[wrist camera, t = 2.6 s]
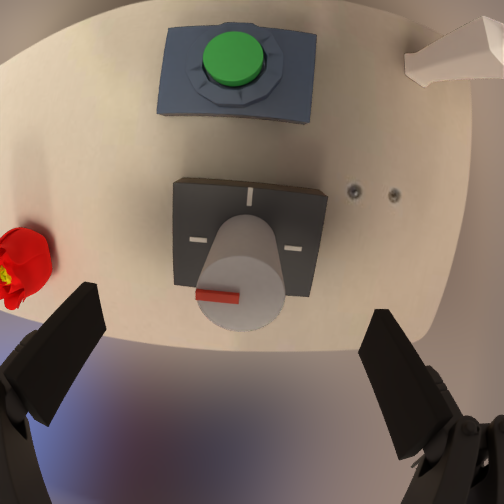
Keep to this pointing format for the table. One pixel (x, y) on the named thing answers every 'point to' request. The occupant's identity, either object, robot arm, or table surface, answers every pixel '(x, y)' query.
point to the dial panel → (247, 203)
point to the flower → (22, 265)
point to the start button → (233, 58)
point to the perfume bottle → (461, 54)
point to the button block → (245, 96)
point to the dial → (242, 276)
